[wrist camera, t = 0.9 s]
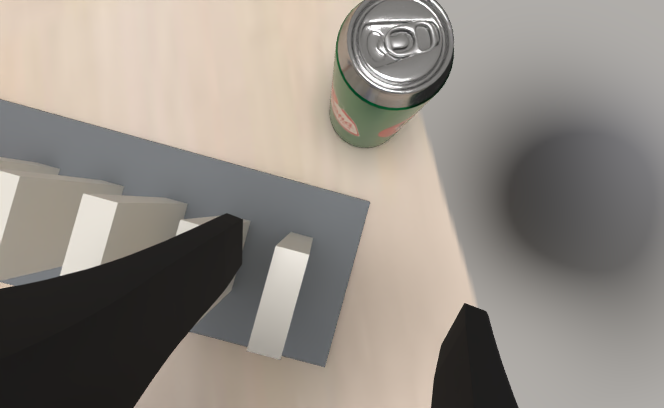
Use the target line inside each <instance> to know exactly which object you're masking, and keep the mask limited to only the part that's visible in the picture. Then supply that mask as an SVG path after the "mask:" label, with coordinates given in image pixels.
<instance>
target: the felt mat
mask: <svg viewBox="0 0 664 408" xmlns="http://www.w3.org/2000/svg"><path fill="white" fill-rule="evenodd" d="M0 157H4V158H10V159H17V160H23V161H30V162H37V163H40V164H44V165H48V166H51V167H55V168H59V169H60V170H59V174H58V175H61V176H70V177H79V178H87V179H96V180H103V181H106V182H110V183H114V184H117V185H121V186H124V189H123V192H122V195H125V196H144V197H164V198H169V199H172V200H176V201H180V202H183V203H187V204H188V205H187V208H186V212H185V215H184V219H192V218H202V217H212V216H221V215H223V214H226V213H228V214H231V215H233V216H236V217H239V218H242V219H245V220H249V221H251V222H250V225H249V229H248V233H247V236H246V240H245V243H244V247H243V251H242V265H241V267H240V268H239V270H238V271H237V273H236V276H235V279H234V283H233V286H232V290H231V291H230V292H229V293H228V294H227V295H226V296H225V297H224V298H223V299H222V300H221V301H220V302H219V303H218V304H217V305H216V306H214V307H213V308H212V309H211V310H210V311H209V312H208V313H207V314H206V315H205V316H204V317H203V318H202V319H201V320H200V321H199V322H198V323H197V324H196V325H195V326H194V327H193V328H192V329H191V330H190V331H189V332H193V333H197V334H200V335H204V336H208V337H212V338H216V339H219V340H223V341H227V342H231V343H235V344H238V345H242V346H246V347H248V344H249V340H250V337H251V333H252V330H253V326H254V322H255V319H256V315H257V311H258V308H259V304H260V301H261V297H262V293H263V290H264V286H265V283H266V279H267V275H268V272H269V268H270V265H271V261H272V257H273V254H274V250H275V247H276V245H277V244H278V243H279V242H280V241H281V240H283V239H284V238H285V237H286V236H287V235H288V234H289V233H290V232H293V233H297V234H300V235H304V236H308V237H311V238H313V241H312V245H311V250H310V254H309V258H308V262H307V265H306V269H305V272H304V276H303V280H302V283H301V287H300V291H299V294H298V298H297V301H296V305H295V309H294V312H293V316H292V320H291V323H290V327H289V330H288V334H287V338H286V341H285V345H284V349H283V352H282V356H284V357H288V358H292V359H295V360H299V361H303V362H307V363H311V364H314V365H318V366H322V367H325V365H326V361H327V358H328V354H329V350H330V347H331V343H332V339H333V336H334V332H335V328H336V325H337V321H338V317H339V314H340V310H341V307H342V303H343V299H344V296H345V292H346V288H347V285H348V281H349V277H350V274H351V270H352V266H353V263H354V259H355V256H356V252H357V248H358V245H359V241H360V237H361V234H362V230H363V226H364V223H365V219H366V215H367V212H368V208H369V205H370V202H369V201H365V200H361V199H358V198H354V197H351V196H347V195H343V194H340V193H336V192H333V191H329V190H325V189H322V188H318V187H315V186H311V185H307V184H304V183H300V182H296V181H293V180H289V179H286V178H282V177H278V176H275V175H271V174H268V173H264V172H260V171H257V170H253V169H250V168H246V167H242V166H239V165H235V164H232V163H228V162H224V161H221V160H217V159H214V158H210V157H206V156H203V155H199V154H195V153H192V152H188V151H185V150H181V149H177V148H174V147H170V146H167V145H163V144H159V143H156V142H152V141H149V140H145V139H141V138H138V137H134V136H131V135H127V134H123V133H120V132H116V131H113V130H109V129H105V128H102V127H98V126H94V125H91V124H87V123H84V122H80V121H76V120H73V119H69V118H66V117H62V116H58V115H55V114H51V113H48V112H44V111H40V110H37V109H33V108H30V107H26V106H22V105H19V104H15V103H12V102H8V101H4V100H1V99H0ZM61 270H62V266H61V267H57V268H53V269H49V270H44V271H40V272H36V273H32V274H27V275H23V276H19V277H15V278H10V279H6V280H2V281H0V282H3V283H6V284H10V285H14V286H18V285H23V284H28V283H33V282H37V281H42V280H46V279H50V278H54V277H58V276H60V273H61Z"/></svg>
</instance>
